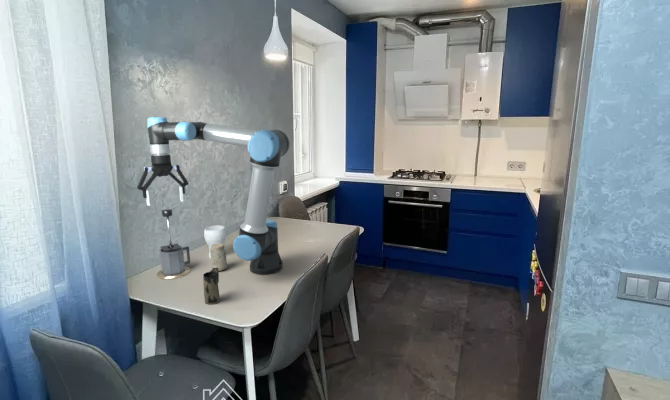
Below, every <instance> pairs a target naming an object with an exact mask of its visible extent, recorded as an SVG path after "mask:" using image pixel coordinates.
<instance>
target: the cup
mask: <svg viewBox="0 0 670 400" xmlns="http://www.w3.org/2000/svg"><path fill="white" fill-rule="evenodd" d="M203 236H204V240H205V243H206V244H207V246H208V249H209V251H208V252H209V253H208V258H209V259H211V253H210V247H211V246H212V245H214V244H218V243H221V244H223V245H224V244H225V242H226V239H227V231H226V228H225V226H224V225H210V226H206V227H205V228H204V232H203ZM224 246H225V245H224Z"/></svg>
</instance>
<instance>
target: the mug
mask: <svg viewBox="0 0 670 400" xmlns="http://www.w3.org/2000/svg"><path fill="white" fill-rule="evenodd" d="M219 273H220V272H219V270H218V268H213V267H212V269H211V270H210V271H207V272H205V273H203V275H202V276H203V279H202V281H203V282H202V283H203V284H202V285H203V297H204V304H205V305H217V304H218V303H220V302H221V296H220V290H219V289H220V288H219V281H220V280H219V279H220V276H219V275H220V274H219Z"/></svg>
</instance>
